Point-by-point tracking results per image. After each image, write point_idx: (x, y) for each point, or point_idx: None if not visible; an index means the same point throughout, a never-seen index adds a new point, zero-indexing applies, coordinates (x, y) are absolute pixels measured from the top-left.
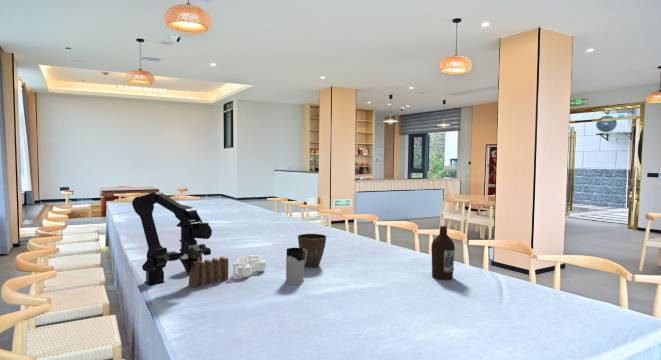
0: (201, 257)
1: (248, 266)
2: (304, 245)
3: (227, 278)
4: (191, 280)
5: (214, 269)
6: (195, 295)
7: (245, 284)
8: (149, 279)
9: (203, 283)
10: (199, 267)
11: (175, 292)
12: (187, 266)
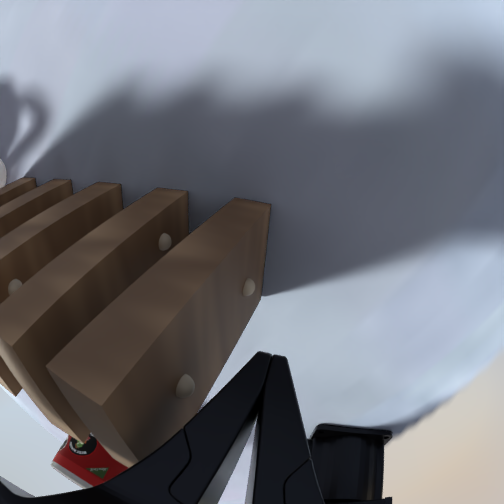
0: (69, 436)
1: None
2: None
3: (16, 181)
4: (251, 285)
5: None
6: (400, 2)
7: (6, 34)
8: (381, 461)
9: (164, 198)
10: None
11: (453, 235)
12: (288, 459)
